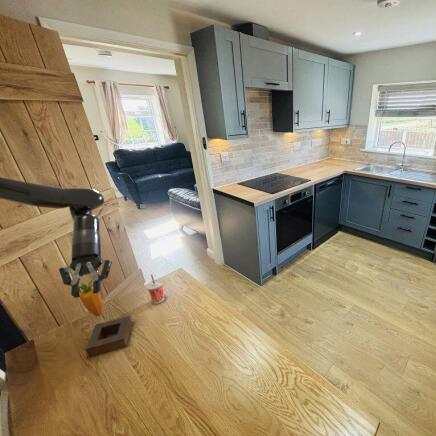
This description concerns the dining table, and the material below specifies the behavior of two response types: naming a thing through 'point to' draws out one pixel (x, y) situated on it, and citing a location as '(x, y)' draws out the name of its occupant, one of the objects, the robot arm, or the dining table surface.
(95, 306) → the carrot
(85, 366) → the dining table surface
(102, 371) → the dining table surface
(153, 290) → the beverage cup
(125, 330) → the socket block
